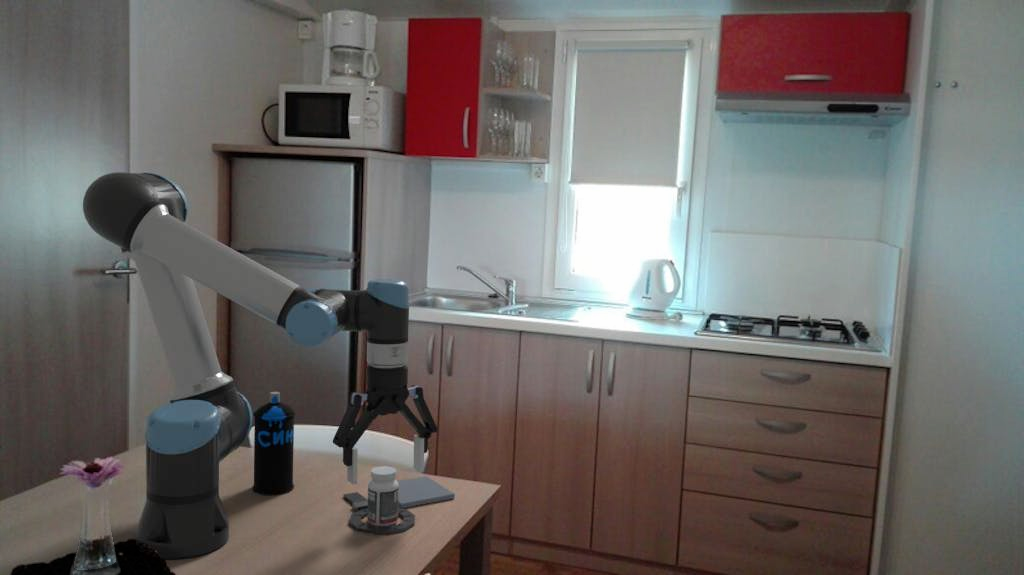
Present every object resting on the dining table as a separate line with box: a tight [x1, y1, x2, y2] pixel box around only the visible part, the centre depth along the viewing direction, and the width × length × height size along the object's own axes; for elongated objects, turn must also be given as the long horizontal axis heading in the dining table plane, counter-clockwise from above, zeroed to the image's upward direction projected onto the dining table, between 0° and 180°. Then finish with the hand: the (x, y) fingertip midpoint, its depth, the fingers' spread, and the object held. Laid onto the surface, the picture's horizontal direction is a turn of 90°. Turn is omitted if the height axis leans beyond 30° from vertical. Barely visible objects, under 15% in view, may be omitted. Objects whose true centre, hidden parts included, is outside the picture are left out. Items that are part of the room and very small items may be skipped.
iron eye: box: [342, 491, 416, 535], centre depth 163 cm, size 12×21×1 cm, turn 34°
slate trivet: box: [396, 475, 456, 509], centre depth 175 cm, size 12×12×1 cm
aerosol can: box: [252, 391, 296, 496], centre depth 173 cm, size 8×8×20 cm
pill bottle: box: [366, 465, 399, 527], centre depth 159 cm, size 6×6×10 cm
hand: (386, 476), depth 159 cm, fingers open, 13 cm apart
